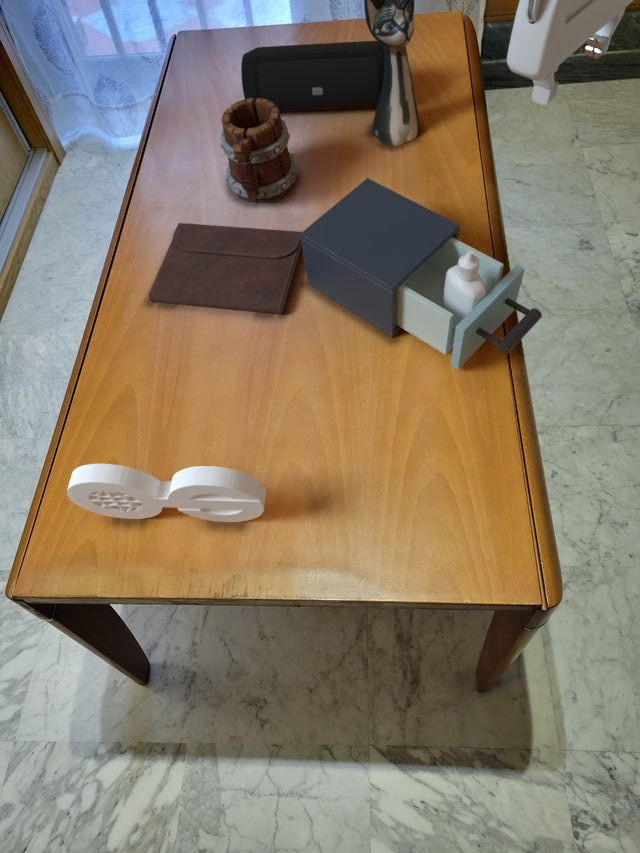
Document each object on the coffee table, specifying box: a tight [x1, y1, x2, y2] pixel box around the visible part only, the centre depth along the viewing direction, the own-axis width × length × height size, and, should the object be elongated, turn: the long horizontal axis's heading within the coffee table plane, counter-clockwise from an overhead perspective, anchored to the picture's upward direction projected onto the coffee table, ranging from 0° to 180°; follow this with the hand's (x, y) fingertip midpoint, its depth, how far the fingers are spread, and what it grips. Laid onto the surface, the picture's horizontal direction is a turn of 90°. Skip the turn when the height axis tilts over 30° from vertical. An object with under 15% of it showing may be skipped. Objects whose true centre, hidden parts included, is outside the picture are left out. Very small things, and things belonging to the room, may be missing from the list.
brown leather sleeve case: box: [148, 222, 303, 315], centre depth 93 cm, size 15×20×2 cm
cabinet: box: [300, 177, 461, 338], centre depth 86 cm, size 16×14×10 cm
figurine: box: [363, 0, 420, 147], centre depth 96 cm, size 9×7×25 cm
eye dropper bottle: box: [442, 250, 486, 330], centre depth 78 cm, size 4×6×12 cm
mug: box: [219, 98, 299, 204], centre depth 97 cm, size 12×14×15 cm
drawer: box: [396, 237, 543, 371], centre depth 81 cm, size 19×12×8 cm, turn 47°
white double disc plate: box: [66, 463, 267, 523], centre depth 71 cm, size 22×2×10 cm, turn 86°
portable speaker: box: [240, 40, 385, 112], centre depth 108 cm, size 26×10×10 cm, turn 86°
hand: (569, 76), depth 63 cm, fingers open, 8 cm apart
